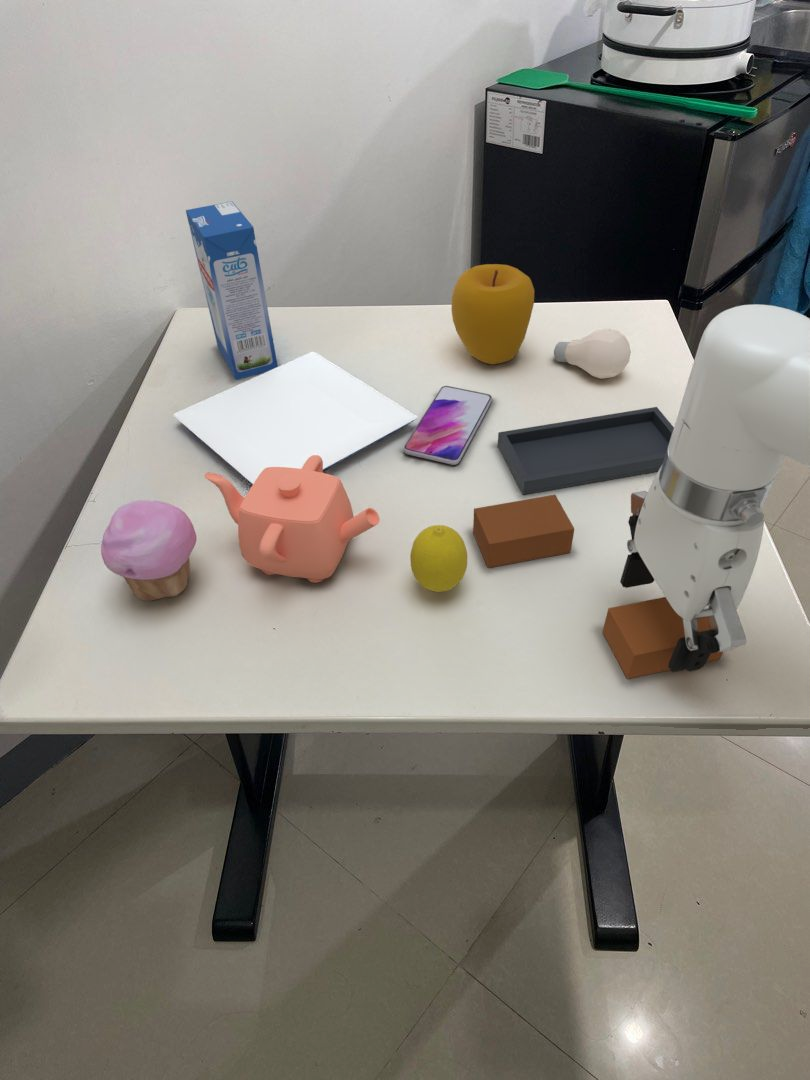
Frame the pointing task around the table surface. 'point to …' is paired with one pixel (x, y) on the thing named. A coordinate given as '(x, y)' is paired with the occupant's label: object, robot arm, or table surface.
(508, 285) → the apple
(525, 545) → the brown brick
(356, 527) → the teapot
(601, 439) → the frame
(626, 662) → the brown rectangular block
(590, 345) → the light bulb
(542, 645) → the table surface
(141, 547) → the cupcake
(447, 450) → the smartphone
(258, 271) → the milk carton
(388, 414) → the plate
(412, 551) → the lemon
